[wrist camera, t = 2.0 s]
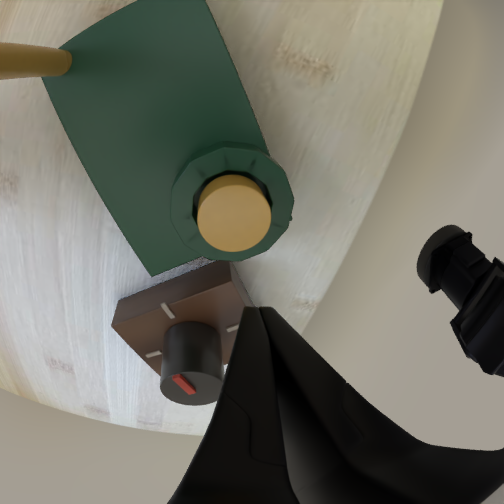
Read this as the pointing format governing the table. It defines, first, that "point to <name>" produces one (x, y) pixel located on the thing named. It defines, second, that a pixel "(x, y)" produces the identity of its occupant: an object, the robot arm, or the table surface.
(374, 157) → the table surface
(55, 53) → the lamp stem
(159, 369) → the dimmer panel
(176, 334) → the dimmer knob
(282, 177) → the lamp base
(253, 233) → the lamp switch
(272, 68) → the table surface
